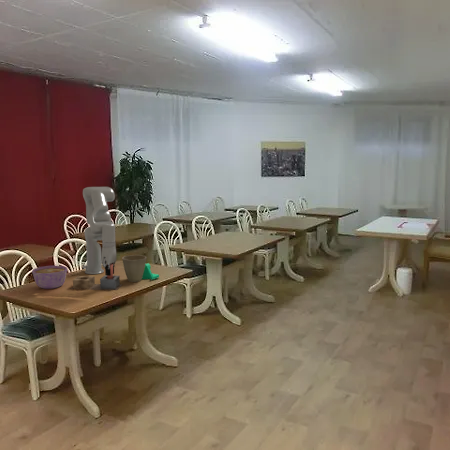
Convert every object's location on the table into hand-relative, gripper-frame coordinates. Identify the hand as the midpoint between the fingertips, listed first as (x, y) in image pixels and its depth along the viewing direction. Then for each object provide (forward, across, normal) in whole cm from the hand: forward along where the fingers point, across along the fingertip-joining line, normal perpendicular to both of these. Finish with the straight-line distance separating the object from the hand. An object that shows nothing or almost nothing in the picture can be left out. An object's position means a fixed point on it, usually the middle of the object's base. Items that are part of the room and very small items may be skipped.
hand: (109, 274), depth 279 cm
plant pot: (+9, -19, +6) cm, 22 cm away
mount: (+8, +4, -16) cm, 18 cm away
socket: (+8, 0, 0) cm, 8 cm away
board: (+9, +2, -8) cm, 12 cm away
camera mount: (+10, -30, +11) cm, 33 cm away
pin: (+6, 0, 0) cm, 6 cm away
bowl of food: (+9, +10, -35) cm, 37 cm away
